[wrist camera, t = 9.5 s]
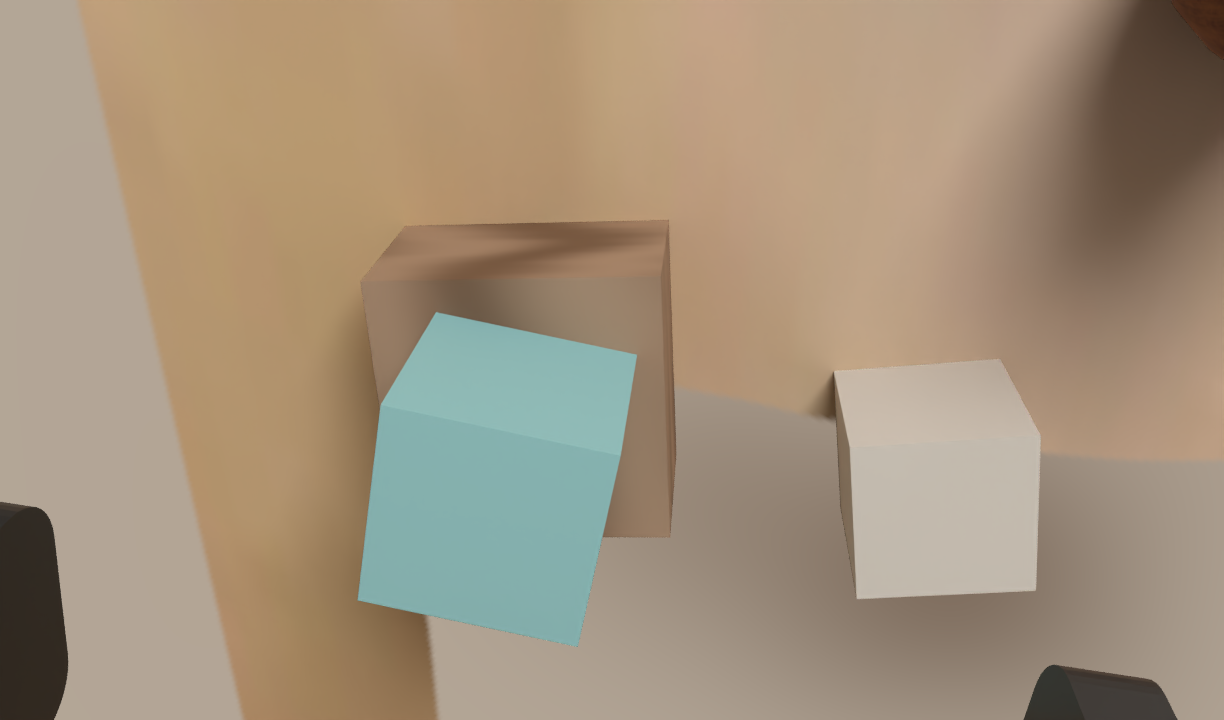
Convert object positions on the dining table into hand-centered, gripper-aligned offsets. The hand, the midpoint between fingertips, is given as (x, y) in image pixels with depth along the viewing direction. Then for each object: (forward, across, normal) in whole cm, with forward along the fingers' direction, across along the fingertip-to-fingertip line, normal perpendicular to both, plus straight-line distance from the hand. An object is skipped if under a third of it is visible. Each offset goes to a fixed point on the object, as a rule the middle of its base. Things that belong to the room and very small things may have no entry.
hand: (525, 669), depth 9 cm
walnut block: (+26, +3, +9) cm, 27 cm away
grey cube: (+26, -9, +10) cm, 29 cm away
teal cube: (+20, +3, +9) cm, 23 cm away
